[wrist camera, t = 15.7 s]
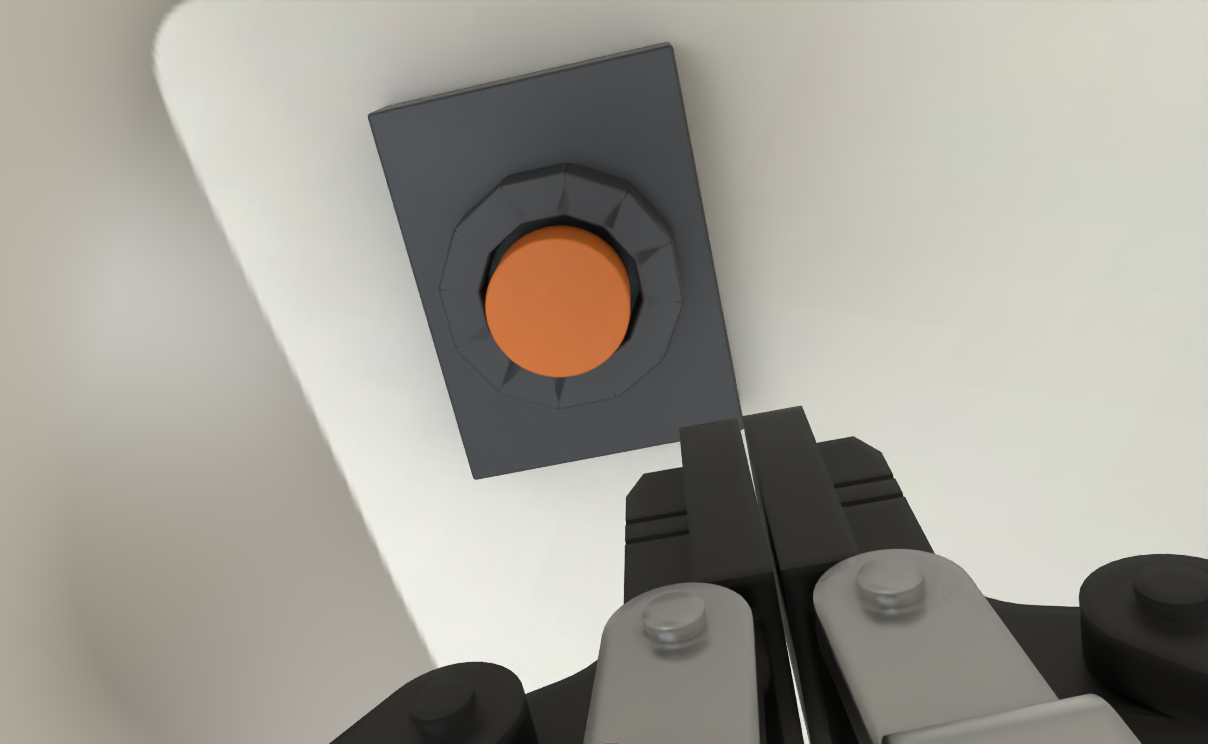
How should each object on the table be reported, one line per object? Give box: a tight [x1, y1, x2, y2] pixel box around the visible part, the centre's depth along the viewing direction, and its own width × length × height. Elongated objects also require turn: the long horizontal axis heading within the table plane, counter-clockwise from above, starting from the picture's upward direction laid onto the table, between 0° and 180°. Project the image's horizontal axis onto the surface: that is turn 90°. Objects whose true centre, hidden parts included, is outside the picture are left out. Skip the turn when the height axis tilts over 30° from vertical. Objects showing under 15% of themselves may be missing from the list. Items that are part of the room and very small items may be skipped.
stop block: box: [368, 42, 744, 480], centre depth 31 cm, size 12×9×4 cm
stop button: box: [485, 225, 631, 377], centre depth 29 cm, size 4×4×2 cm
